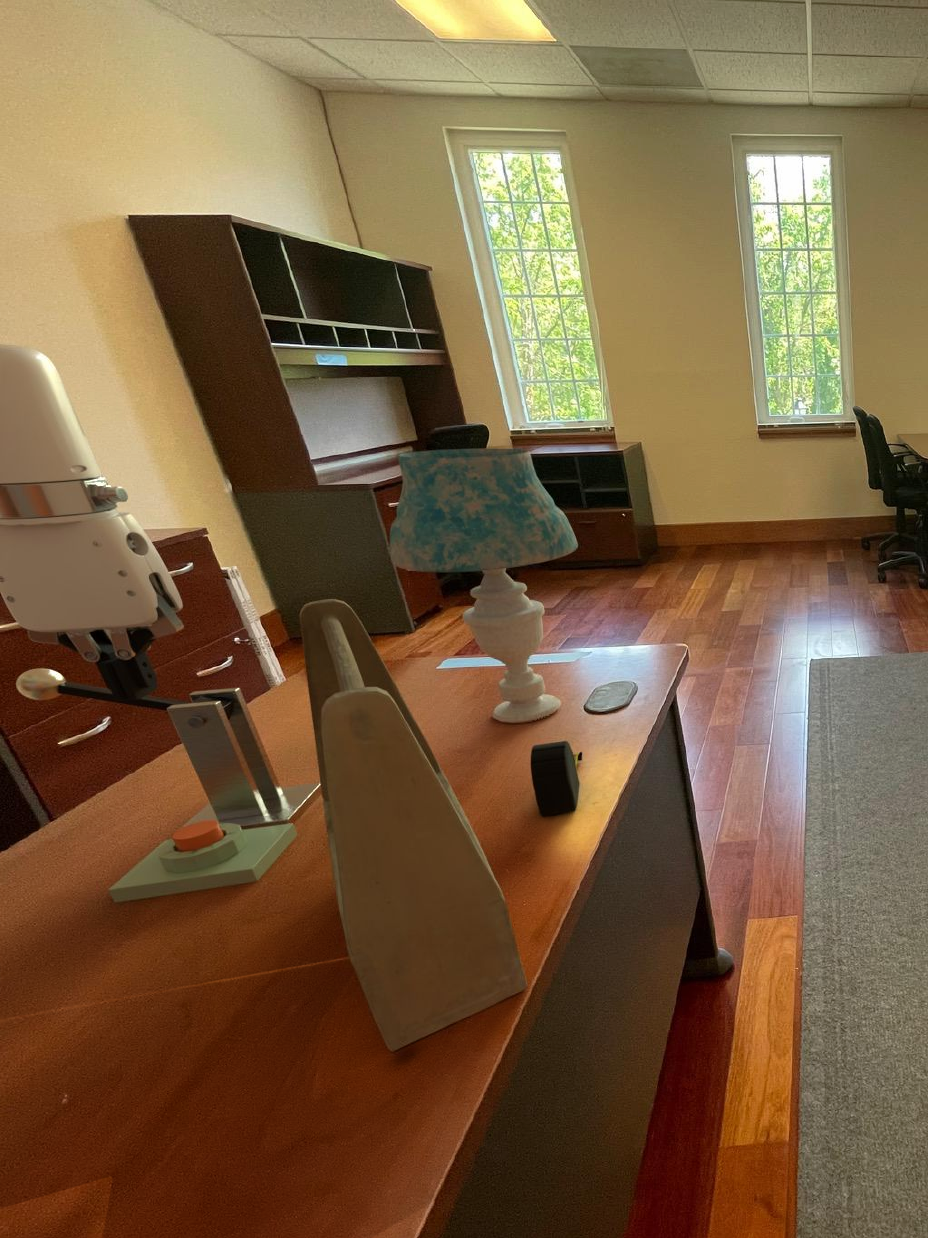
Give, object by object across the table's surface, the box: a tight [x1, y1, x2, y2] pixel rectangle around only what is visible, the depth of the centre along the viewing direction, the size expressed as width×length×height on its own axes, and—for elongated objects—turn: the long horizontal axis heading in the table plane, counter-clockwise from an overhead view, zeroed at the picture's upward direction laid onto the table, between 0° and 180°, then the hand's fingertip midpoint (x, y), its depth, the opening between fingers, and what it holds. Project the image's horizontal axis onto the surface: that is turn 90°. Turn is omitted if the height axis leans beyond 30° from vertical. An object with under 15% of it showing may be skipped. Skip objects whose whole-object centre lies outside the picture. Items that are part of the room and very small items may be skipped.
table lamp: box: [389, 447, 579, 724], centre depth 108 cm, size 24×24×40 cm
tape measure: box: [530, 740, 583, 817], centre depth 92 cm, size 15×4×8 cm, turn 21°
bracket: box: [166, 687, 322, 830], centre depth 84 cm, size 11×9×16 cm
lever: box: [15, 667, 232, 721], centre depth 79 cm, size 17×3×3 cm, turn 107°
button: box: [171, 820, 224, 852], centre depth 76 cm, size 4×4×2 cm
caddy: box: [299, 598, 528, 1053], centre depth 63 cm, size 29×11×30 cm, turn 41°
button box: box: [108, 823, 298, 903], centre depth 77 cm, size 12×9×4 cm
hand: (138, 694), depth 69 cm, fingers closed
